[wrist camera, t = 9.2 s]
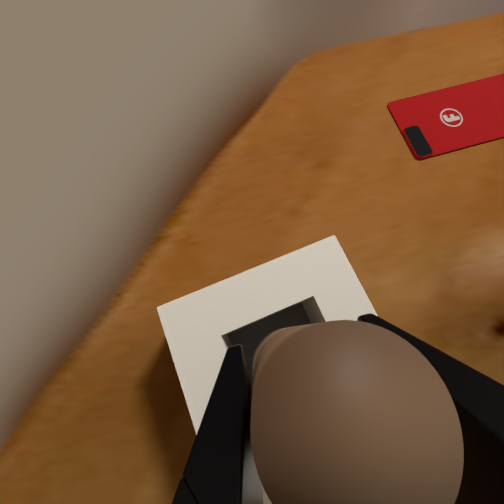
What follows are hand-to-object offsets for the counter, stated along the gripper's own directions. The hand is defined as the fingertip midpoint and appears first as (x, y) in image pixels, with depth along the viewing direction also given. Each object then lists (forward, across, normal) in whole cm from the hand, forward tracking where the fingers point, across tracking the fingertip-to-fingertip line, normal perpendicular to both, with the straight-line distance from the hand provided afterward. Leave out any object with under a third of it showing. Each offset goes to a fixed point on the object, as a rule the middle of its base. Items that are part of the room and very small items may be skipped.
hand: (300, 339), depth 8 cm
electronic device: (+17, -21, -2) cm, 27 cm away
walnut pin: (+4, 0, +6) cm, 7 cm away
